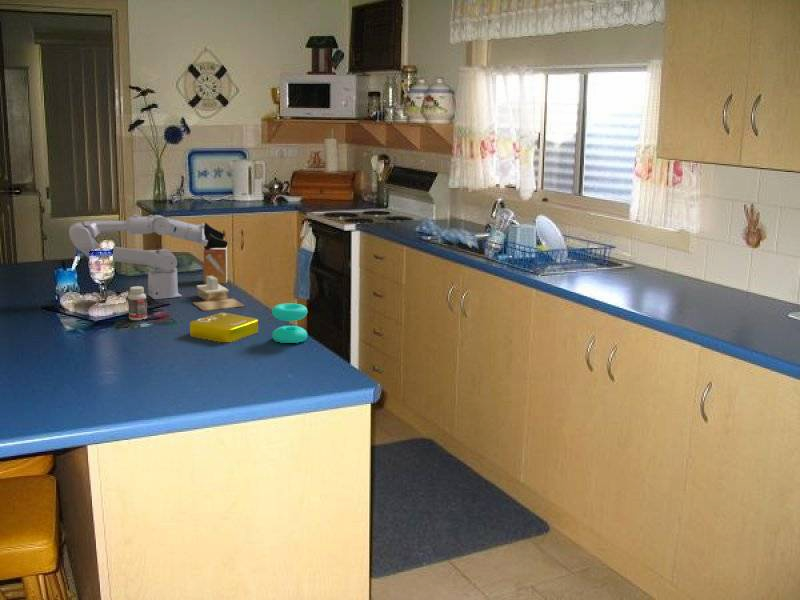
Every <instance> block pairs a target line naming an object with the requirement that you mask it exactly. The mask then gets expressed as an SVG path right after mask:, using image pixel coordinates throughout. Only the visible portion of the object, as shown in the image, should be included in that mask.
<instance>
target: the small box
mask: <svg viewBox="0 0 800 600" xmlns="http://www.w3.org/2000/svg"><path fill="white" fill-rule="evenodd" d="M207 276H214V277H215V278H217V279H218V284H220V285H223V284H224V285H226V284H227V283H228V245H227V246H226V248H212V249H208V250H206V249H204V248H203V283H204V284H203V285H207Z"/></svg>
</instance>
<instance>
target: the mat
mask: <svg viewBox="0 0 800 600" xmlns="http://www.w3.org/2000/svg"><path fill="white" fill-rule="evenodd" d="M192 304H193V305H194V306H195V307H196V308H198V309H199V310H201V311H203V312H209V311H210V312H211V311H218V310H219V311H220V310H228V308H229V309H236V308H235V307H239V308H244V307H243V306H245V307H246V305H244V304H243V303H241V302H240V301H238V300H236V299H235V298H234V297H233V298H228V299H222V300H212V301H205V300H203V301H195V302H194V301H193V302H192Z"/></svg>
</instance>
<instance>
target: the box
mask: <svg viewBox="0 0 800 600" xmlns="http://www.w3.org/2000/svg"><path fill="white" fill-rule="evenodd" d="M197 296H198V297H199V298H200V299H202V300H203V301H212V300H222V299H229V297H228V292H219V293H209V294H206V293H205V292H203V291H202V290H200V289H199V288H197Z"/></svg>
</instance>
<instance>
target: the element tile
mask: <svg viewBox="0 0 800 600" xmlns="http://www.w3.org/2000/svg"><path fill="white" fill-rule="evenodd" d="M257 332H258V333H259V319H257V318H255V317H249V316H245V315H239V314H235V313H234V314H233V313H229V312H224V311H223V312H217V313H214V314H212V315H208V316H205V317H201V318H198V319H195V320H191V321H190V322H189V335H190V337H193V338H198V339H201V338H202V339H203V340H206V339H208V341H211V340H213V341H212V342H216V341H218V342H217V343H220V342H231V343H233V342H232V341H234V342H236V341H235V340H237V341H239V340H238V339H240V338H243V337H245V338H247V337H246V336H248V337H250V336H249V335H251V336H253V335H252V334H254V333H257ZM258 333H257V334H258ZM254 335H255V334H254ZM243 339H244V338H243ZM240 340H241V339H240Z"/></svg>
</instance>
